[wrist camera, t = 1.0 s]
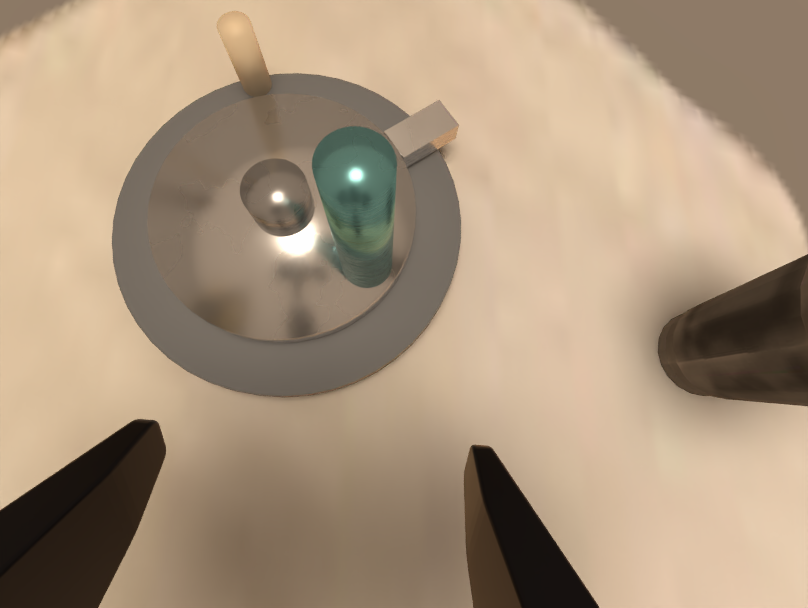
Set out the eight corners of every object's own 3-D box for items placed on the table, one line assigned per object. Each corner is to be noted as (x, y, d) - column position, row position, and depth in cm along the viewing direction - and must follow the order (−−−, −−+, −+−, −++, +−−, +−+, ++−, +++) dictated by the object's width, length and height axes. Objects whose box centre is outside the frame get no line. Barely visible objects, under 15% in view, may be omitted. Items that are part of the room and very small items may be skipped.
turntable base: (413, 436, 22) (421, 445, 17) (73, 346, 23) (-23, 327, 17) (486, 132, 27) (511, 64, 21) (197, 60, 27) (151, -26, 22)
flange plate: (393, 377, 21) (401, 350, 11) (119, 305, 22) (-108, 217, 12) (460, 120, 25) (510, -73, 15) (221, 60, 25) (113, -170, 15)
